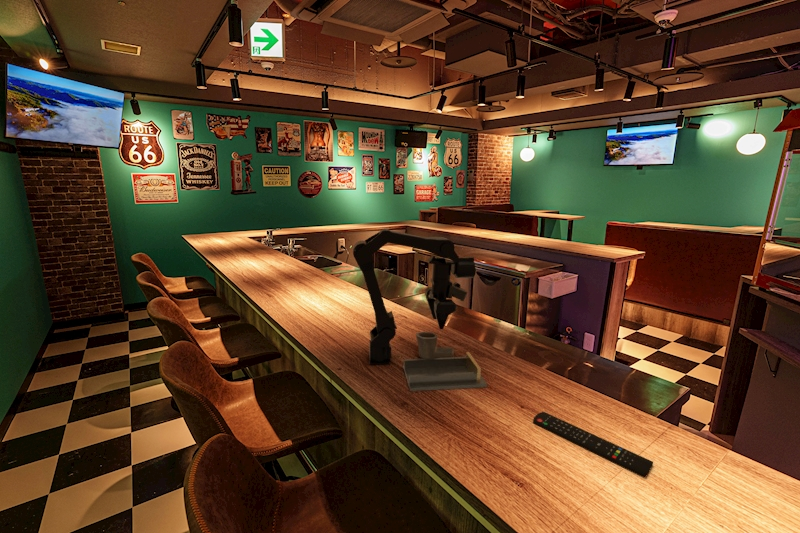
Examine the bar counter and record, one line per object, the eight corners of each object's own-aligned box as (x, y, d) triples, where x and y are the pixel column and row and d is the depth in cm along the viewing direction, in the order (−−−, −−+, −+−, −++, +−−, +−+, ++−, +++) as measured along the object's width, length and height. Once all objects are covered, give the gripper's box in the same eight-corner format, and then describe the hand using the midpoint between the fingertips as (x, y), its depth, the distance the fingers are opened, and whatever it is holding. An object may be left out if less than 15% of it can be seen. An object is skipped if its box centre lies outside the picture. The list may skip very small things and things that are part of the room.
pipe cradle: (410, 391, 103) (410, 374, 102) (403, 367, 117) (403, 352, 116) (486, 387, 106) (487, 370, 105) (471, 364, 119) (472, 349, 118)
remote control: (644, 480, 73) (645, 474, 73) (530, 424, 90) (531, 419, 90) (652, 467, 77) (653, 461, 76) (541, 415, 94) (541, 410, 94)
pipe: (452, 364, 120) (453, 340, 118) (413, 359, 122) (414, 336, 120) (453, 356, 125) (455, 333, 124) (416, 352, 128) (417, 330, 126)
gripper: (475, 285, 110) (470, 334, 114) (457, 271, 129) (454, 314, 132) (438, 284, 109) (435, 334, 112) (426, 270, 127) (423, 314, 130)
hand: (437, 323), depth 122 cm, fingers open, 9 cm apart
